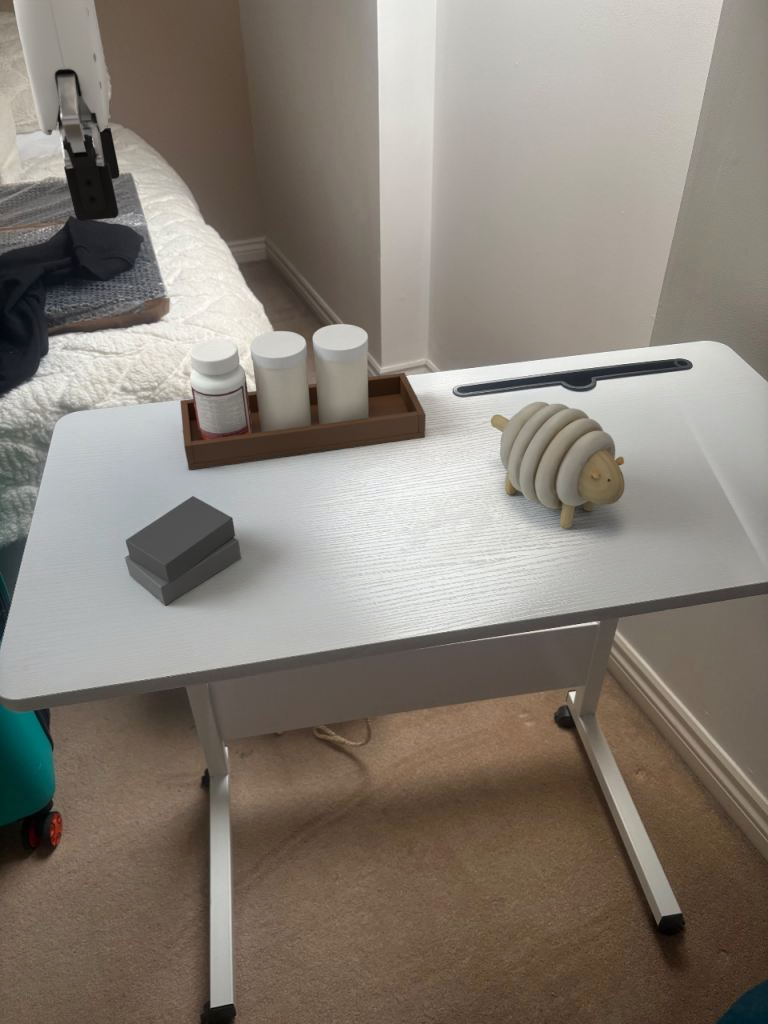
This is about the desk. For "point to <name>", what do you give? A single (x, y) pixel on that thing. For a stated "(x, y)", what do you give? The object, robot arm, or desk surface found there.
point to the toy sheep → (559, 458)
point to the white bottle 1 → (281, 380)
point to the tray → (312, 428)
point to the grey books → (182, 549)
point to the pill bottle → (219, 390)
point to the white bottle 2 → (341, 373)
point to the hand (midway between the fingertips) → (99, 197)
